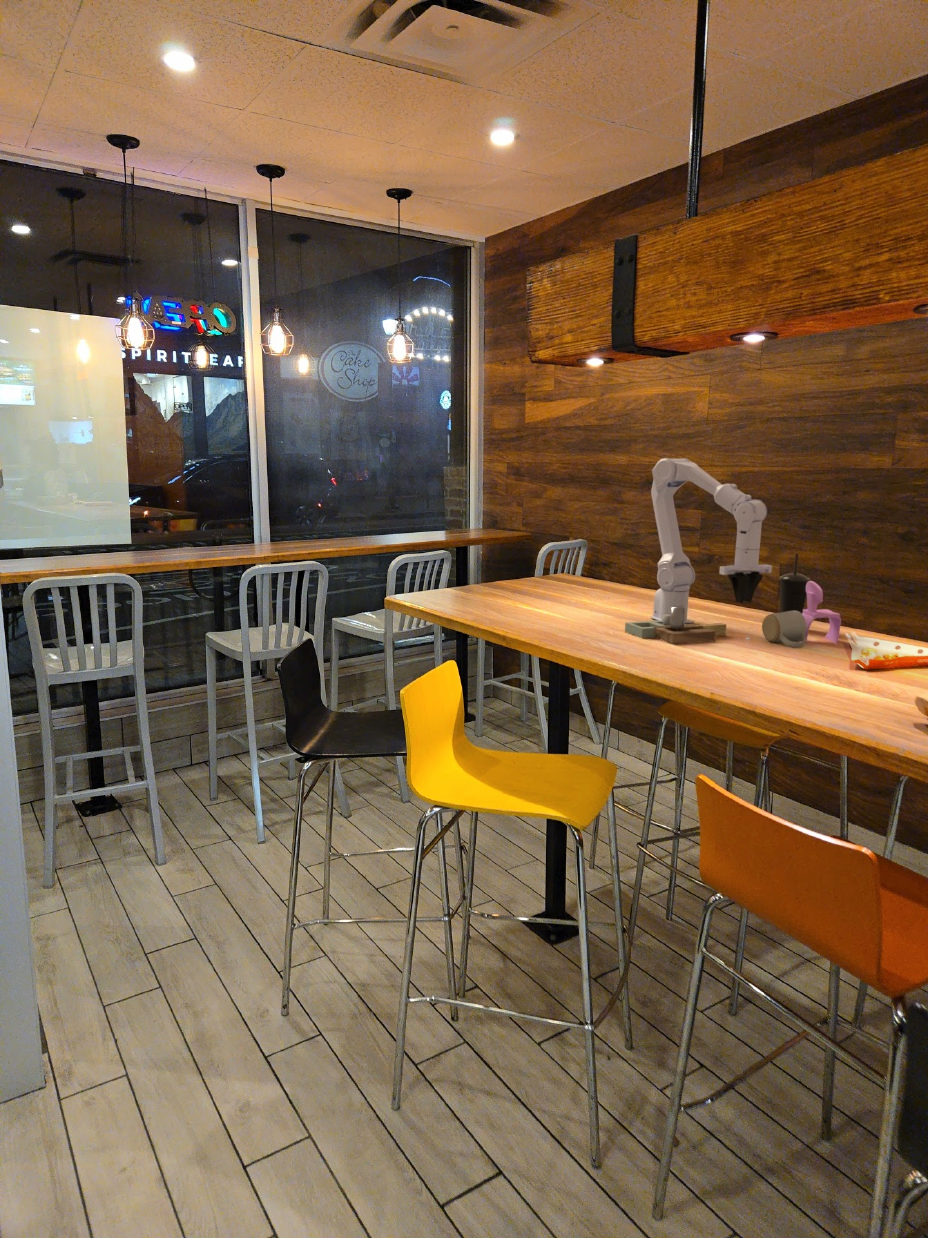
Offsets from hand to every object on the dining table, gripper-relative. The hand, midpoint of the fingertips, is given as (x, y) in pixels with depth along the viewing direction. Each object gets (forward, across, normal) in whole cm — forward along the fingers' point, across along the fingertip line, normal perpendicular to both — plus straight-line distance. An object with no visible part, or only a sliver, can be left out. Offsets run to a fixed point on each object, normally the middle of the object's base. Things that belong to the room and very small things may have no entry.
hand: (743, 601), depth 213 cm
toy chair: (+9, +14, -12) cm, 20 cm away
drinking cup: (+9, +18, +2) cm, 20 cm away
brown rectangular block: (+8, -9, 0) cm, 12 cm away
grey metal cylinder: (+8, -20, 0) cm, 21 cm away
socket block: (+8, -18, 0) cm, 20 cm away
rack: (+8, -20, +7) cm, 23 cm away
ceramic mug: (+9, +4, -12) cm, 15 cm away
